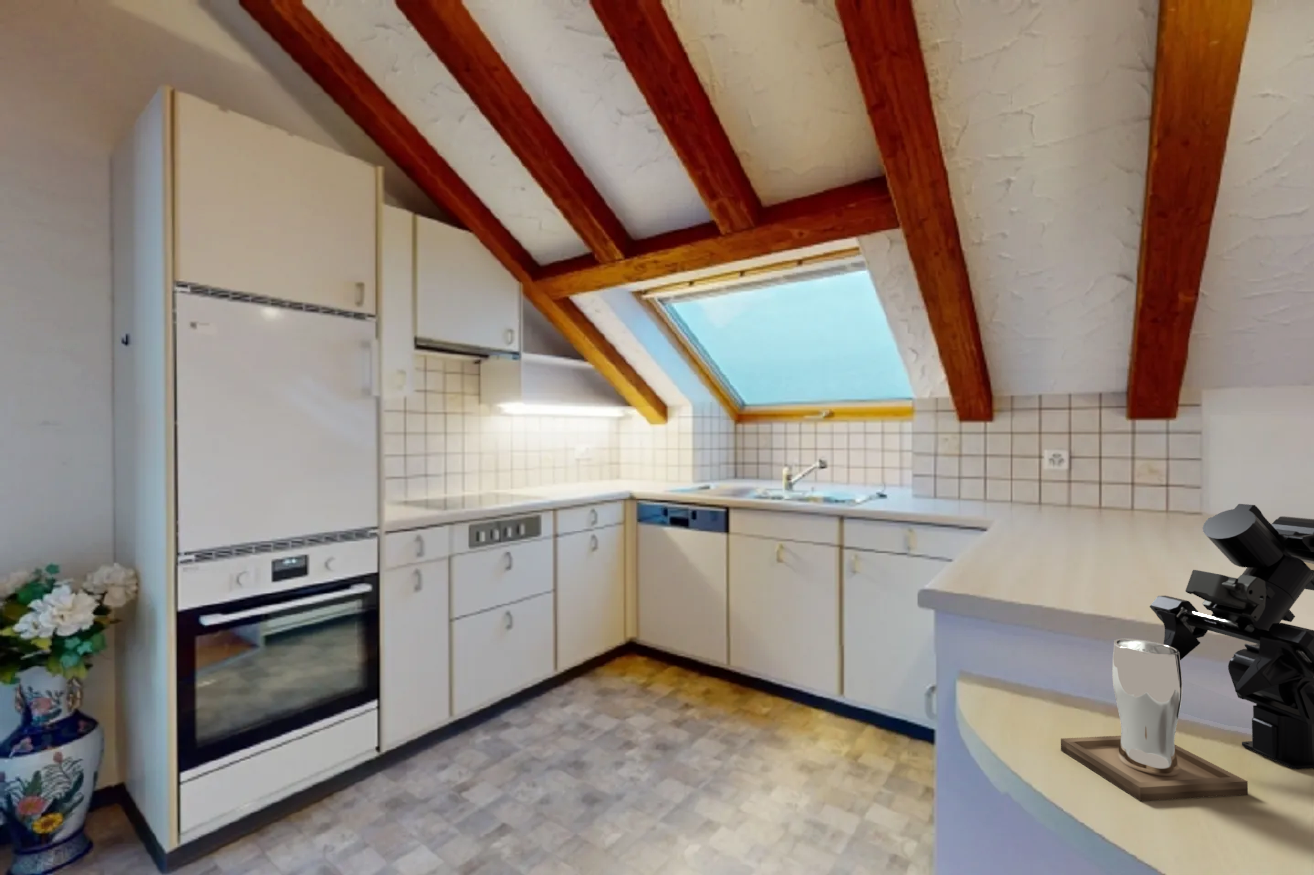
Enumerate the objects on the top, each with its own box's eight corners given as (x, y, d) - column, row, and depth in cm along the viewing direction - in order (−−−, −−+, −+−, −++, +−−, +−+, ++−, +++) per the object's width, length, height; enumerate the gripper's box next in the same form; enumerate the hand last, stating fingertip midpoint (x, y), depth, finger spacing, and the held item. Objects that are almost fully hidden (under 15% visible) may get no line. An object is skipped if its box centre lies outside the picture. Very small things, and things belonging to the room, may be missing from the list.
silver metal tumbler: (1198, 775, 74) (1196, 653, 74) (1154, 781, 72) (1152, 657, 73) (1141, 748, 81) (1139, 636, 81) (1100, 753, 79) (1098, 639, 79)
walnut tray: (1154, 745, 83) (1154, 733, 83) (1247, 794, 71) (1247, 781, 71) (1060, 750, 82) (1060, 738, 82) (1140, 801, 70) (1140, 787, 70)
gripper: (1159, 539, 88) (1096, 618, 86) (1317, 562, 70) (1243, 663, 68) (1204, 591, 90) (1143, 670, 87) (1372, 627, 71) (1300, 727, 69)
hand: (1198, 679), depth 78 cm, fingers open, 9 cm apart
